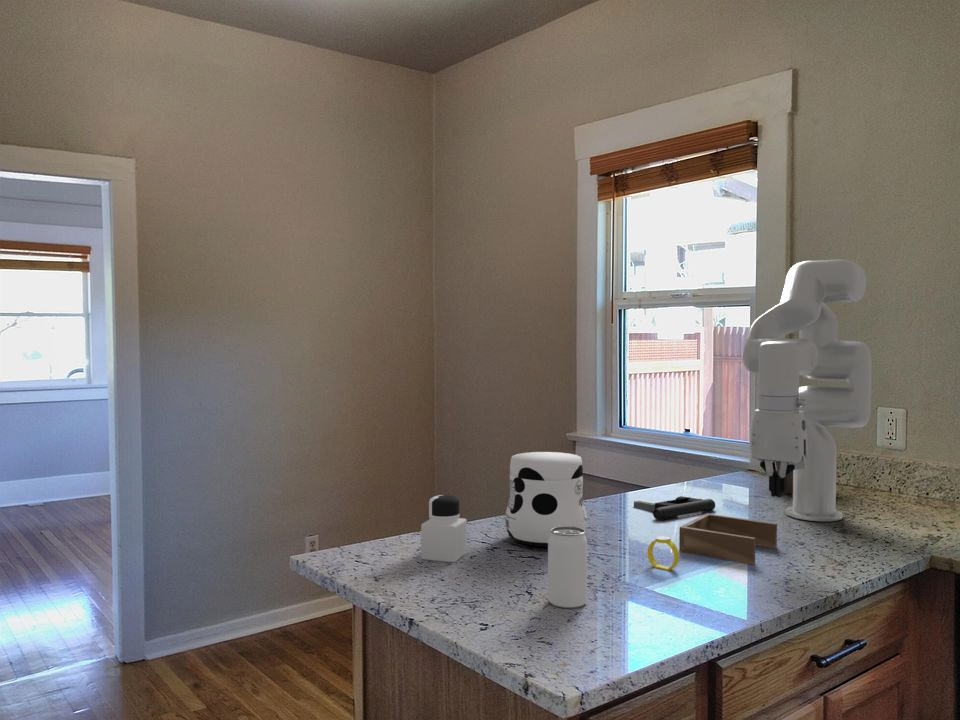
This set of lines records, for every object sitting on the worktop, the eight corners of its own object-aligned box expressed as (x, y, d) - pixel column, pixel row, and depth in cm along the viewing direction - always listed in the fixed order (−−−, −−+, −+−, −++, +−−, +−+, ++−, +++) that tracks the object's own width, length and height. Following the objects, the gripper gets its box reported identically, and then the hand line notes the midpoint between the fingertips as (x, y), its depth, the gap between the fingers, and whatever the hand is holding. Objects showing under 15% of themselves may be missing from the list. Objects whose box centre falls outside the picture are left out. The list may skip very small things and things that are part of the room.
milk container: (602, 540, 168) (603, 457, 168) (553, 557, 156) (553, 467, 155) (539, 526, 180) (539, 448, 179) (488, 541, 167) (488, 457, 167)
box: (706, 535, 172) (706, 513, 172) (776, 547, 163) (777, 523, 163) (679, 551, 160) (679, 527, 160) (753, 564, 151) (753, 539, 151)
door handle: (616, 501, 197) (664, 509, 184) (672, 492, 208) (721, 499, 195) (617, 514, 197) (665, 523, 184) (672, 504, 208) (721, 512, 195)
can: (544, 596, 133) (545, 526, 132) (582, 595, 134) (582, 525, 133) (551, 609, 127) (551, 536, 126) (590, 608, 127) (591, 535, 127)
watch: (646, 568, 149) (644, 537, 150) (653, 565, 152) (651, 534, 152) (674, 572, 145) (672, 540, 146) (681, 569, 147) (680, 537, 148)
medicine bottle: (467, 553, 158) (467, 494, 158) (454, 563, 152) (454, 501, 151) (434, 550, 161) (434, 492, 160) (420, 559, 154) (420, 499, 154)
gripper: (823, 404, 153) (822, 496, 154) (746, 399, 162) (746, 487, 163) (813, 408, 147) (812, 504, 148) (734, 403, 156) (733, 494, 157)
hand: (777, 495), depth 156 cm, fingers closed
